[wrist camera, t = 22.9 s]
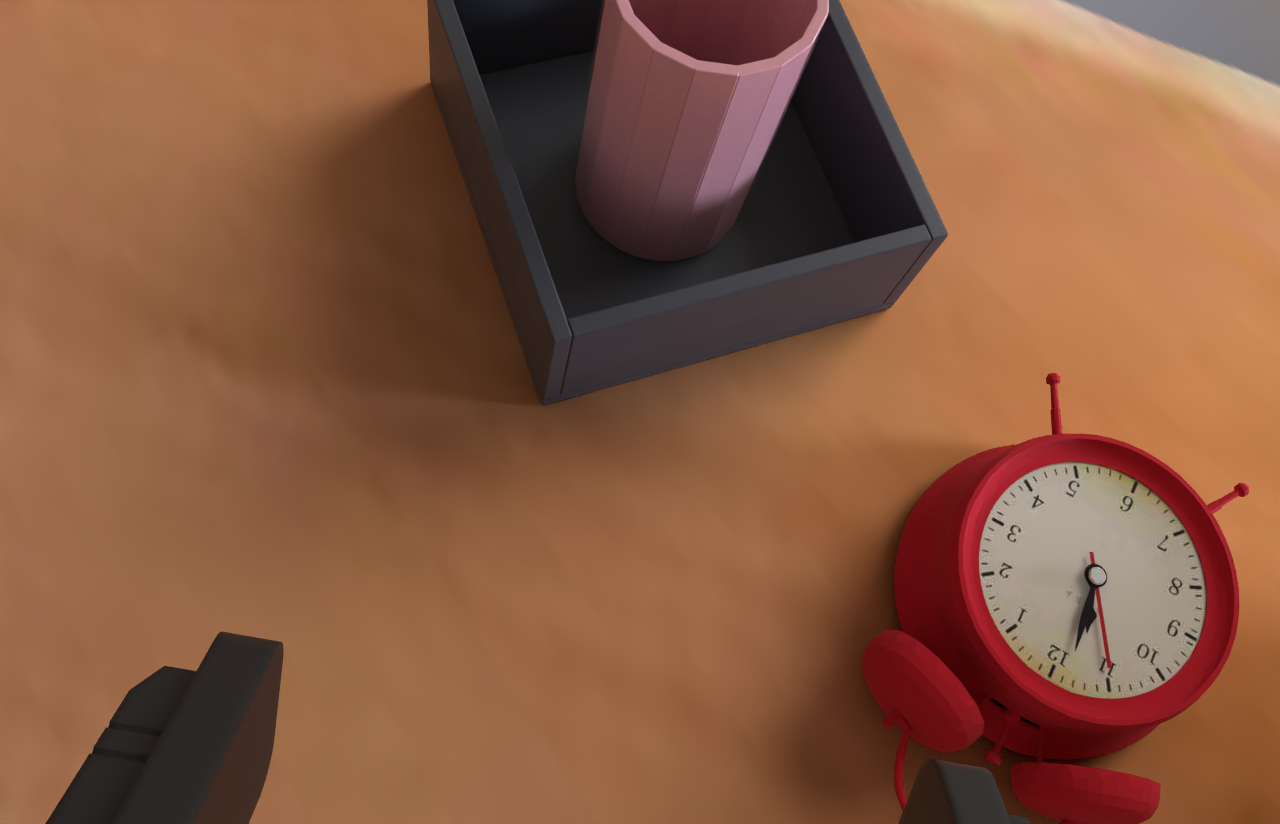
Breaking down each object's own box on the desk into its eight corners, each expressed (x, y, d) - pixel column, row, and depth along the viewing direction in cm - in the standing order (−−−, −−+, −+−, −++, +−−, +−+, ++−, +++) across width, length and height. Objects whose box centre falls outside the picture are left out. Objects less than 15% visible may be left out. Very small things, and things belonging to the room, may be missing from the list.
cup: (708, 96, 45) (781, -126, 35) (767, 239, 43) (862, 48, 33) (551, 131, 44) (579, -90, 33) (606, 280, 42) (653, 95, 32)
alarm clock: (1305, 493, 39) (1222, 926, 31) (1185, 570, 45) (1087, 959, 36) (1023, 331, 40) (866, 712, 32) (937, 426, 45) (783, 775, 37)
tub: (759, 11, 47) (796, -93, 42) (891, 308, 44) (949, 234, 39) (430, 80, 44) (426, -23, 39) (541, 406, 41) (553, 341, 35)
